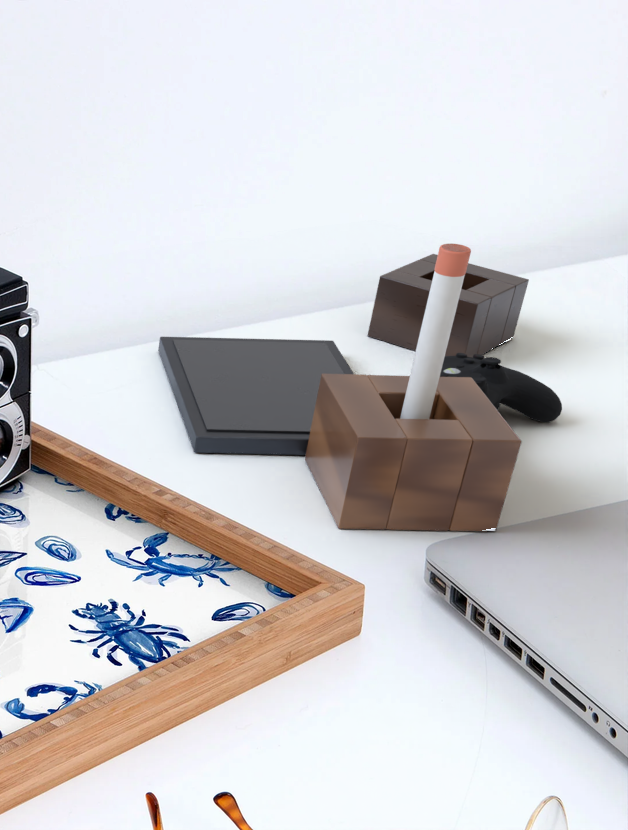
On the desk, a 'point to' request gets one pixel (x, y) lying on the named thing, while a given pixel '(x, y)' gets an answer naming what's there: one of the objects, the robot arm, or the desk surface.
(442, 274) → the stylus
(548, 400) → the game controller
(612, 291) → the desk surface
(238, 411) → the tablet
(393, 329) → the back stand
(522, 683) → the desk surface
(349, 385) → the front stand
